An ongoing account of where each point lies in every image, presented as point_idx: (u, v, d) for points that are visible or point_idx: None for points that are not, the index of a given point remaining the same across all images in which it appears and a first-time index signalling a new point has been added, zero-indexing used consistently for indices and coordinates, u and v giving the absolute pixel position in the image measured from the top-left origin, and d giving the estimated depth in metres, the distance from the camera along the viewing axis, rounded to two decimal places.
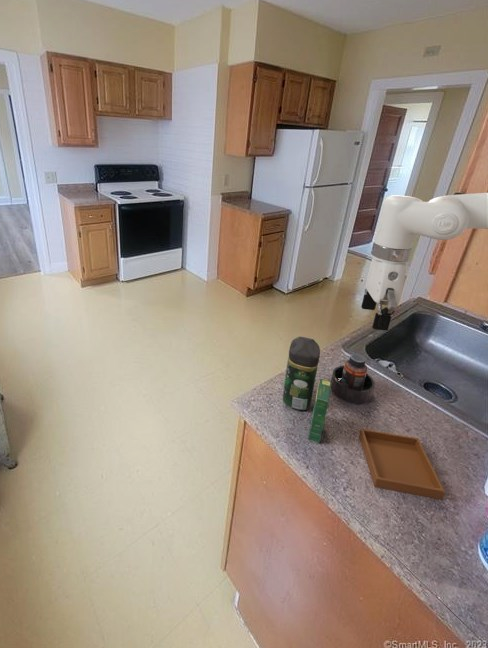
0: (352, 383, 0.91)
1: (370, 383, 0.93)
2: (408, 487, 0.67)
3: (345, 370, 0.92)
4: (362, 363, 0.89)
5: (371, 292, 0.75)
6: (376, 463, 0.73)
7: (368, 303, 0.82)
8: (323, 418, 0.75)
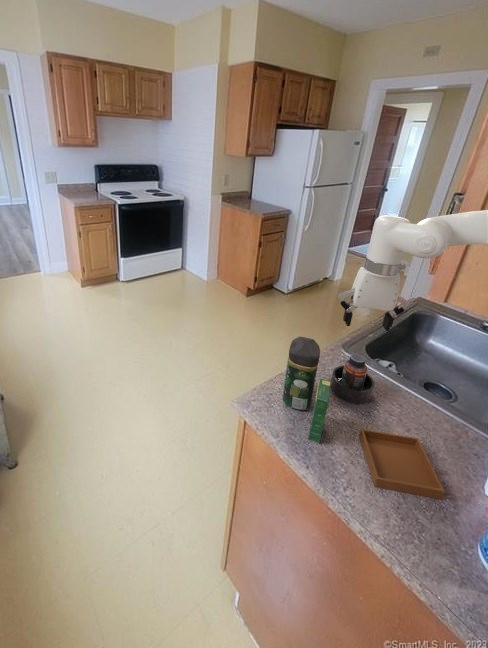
0: (352, 383, 0.91)
1: (370, 383, 0.93)
2: (408, 487, 0.67)
3: (345, 370, 0.92)
4: (362, 363, 0.89)
5: (378, 306, 0.81)
6: (376, 463, 0.73)
7: None
8: (323, 418, 0.75)
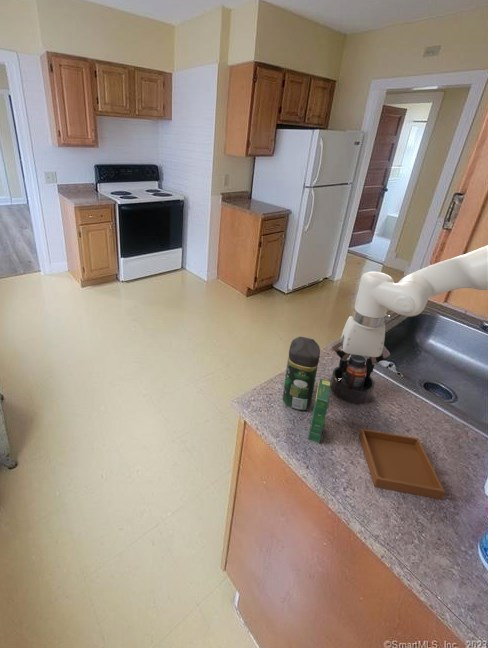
0: (352, 383, 0.91)
1: (370, 383, 0.93)
2: (408, 487, 0.67)
3: None
4: (362, 363, 0.89)
5: (366, 353, 0.87)
6: (376, 463, 0.73)
7: None
8: (323, 418, 0.75)
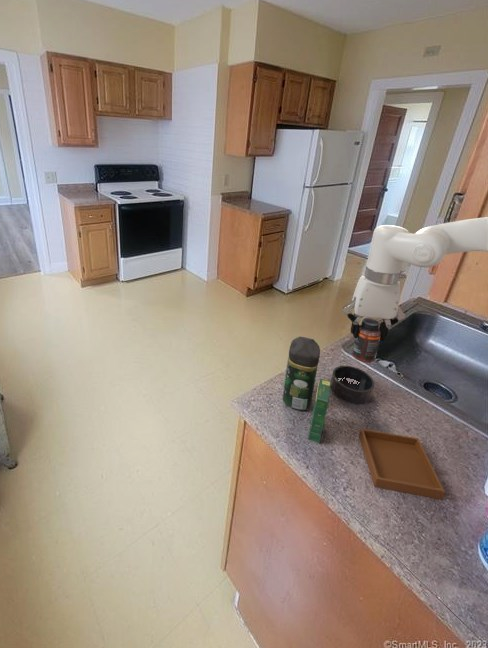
0: (365, 349, 0.85)
1: (370, 383, 0.93)
2: (408, 487, 0.67)
3: None
4: (375, 326, 0.83)
5: (379, 314, 0.82)
6: (376, 463, 0.73)
7: None
8: (323, 418, 0.75)
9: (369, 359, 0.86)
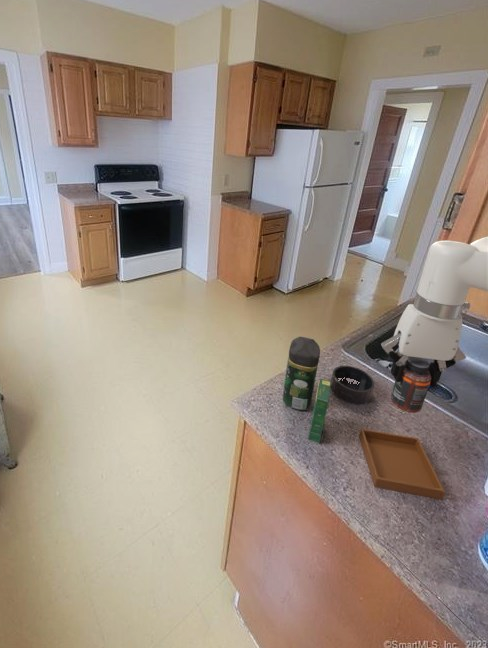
0: (411, 397, 0.67)
1: (370, 383, 0.93)
2: (408, 487, 0.67)
3: None
4: (426, 369, 0.65)
5: (432, 355, 0.63)
6: (376, 463, 0.73)
7: None
8: (323, 418, 0.75)
9: (415, 409, 0.68)
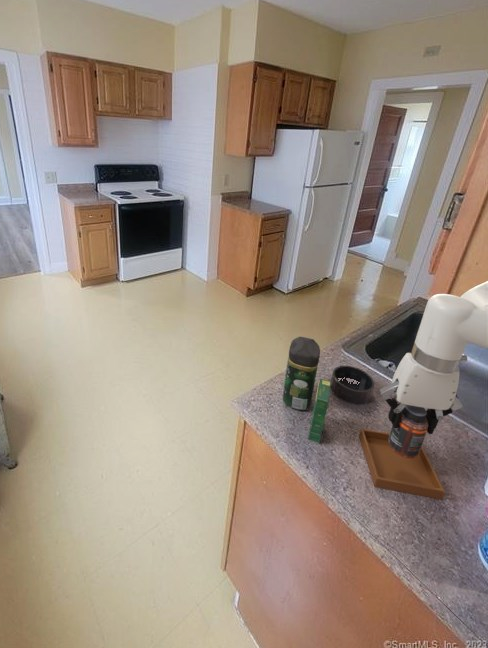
0: (408, 443, 0.67)
1: (370, 383, 0.93)
2: (408, 487, 0.67)
3: None
4: (423, 417, 0.66)
5: (429, 404, 0.64)
6: (376, 463, 0.73)
7: None
8: (323, 418, 0.75)
9: (412, 455, 0.68)
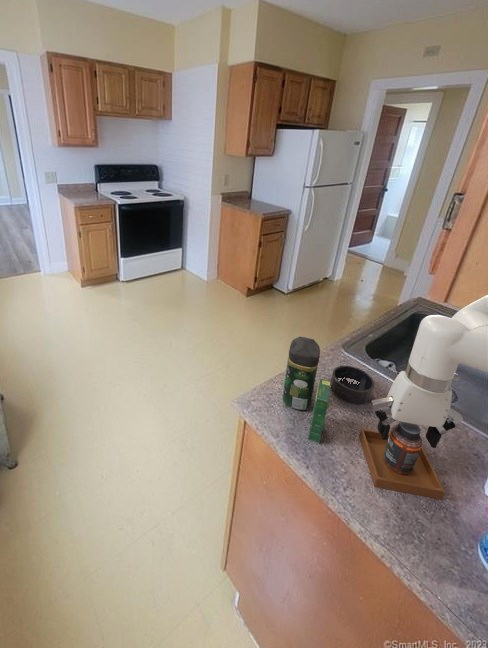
0: (402, 460, 0.69)
1: (370, 383, 0.93)
2: (408, 487, 0.67)
3: (392, 441, 0.70)
4: (417, 435, 0.67)
5: (423, 422, 0.65)
6: (376, 463, 0.73)
7: None
8: (323, 418, 0.75)
9: (406, 471, 0.70)
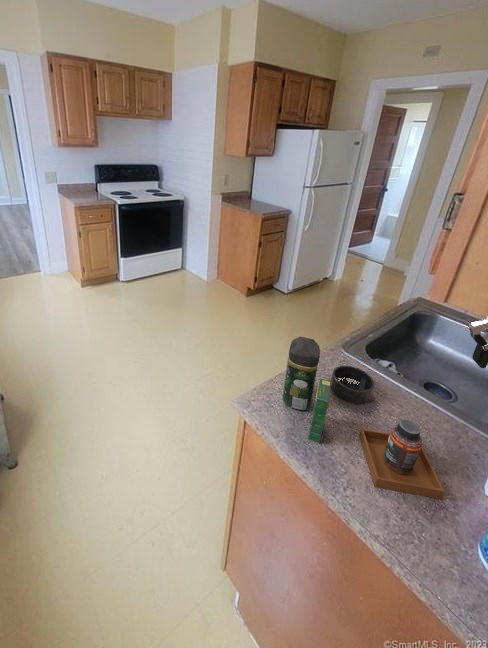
0: (402, 460, 0.69)
1: (370, 383, 0.93)
2: (408, 487, 0.67)
3: (392, 441, 0.70)
4: (417, 435, 0.67)
5: None
6: (376, 463, 0.73)
7: None
8: (323, 418, 0.75)
9: (406, 471, 0.70)
